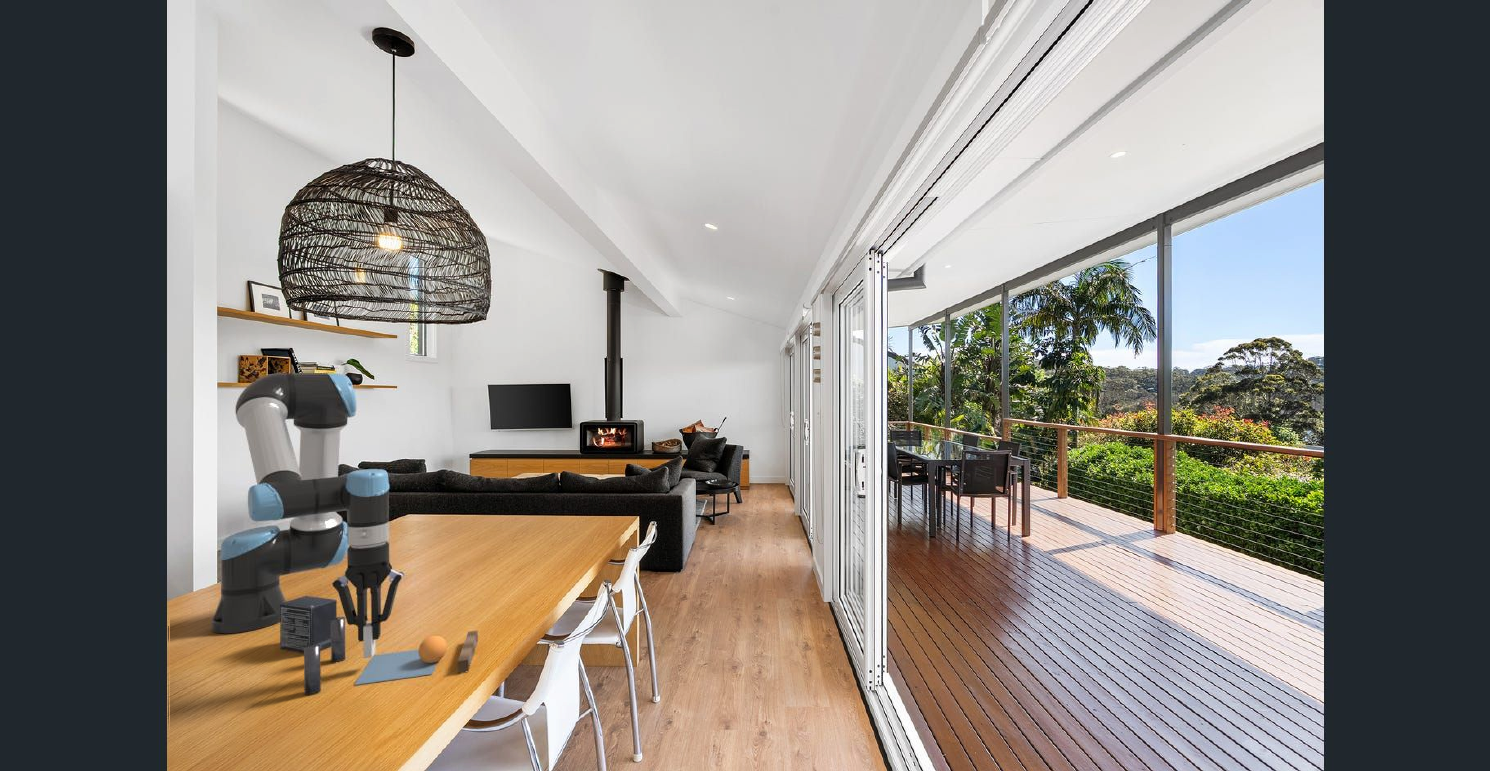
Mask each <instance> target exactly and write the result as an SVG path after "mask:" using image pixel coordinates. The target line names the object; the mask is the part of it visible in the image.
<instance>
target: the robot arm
mask: <svg viewBox="0 0 1490 771" xmlns="http://www.w3.org/2000/svg"><path fill="white" fill-rule="evenodd" d="M356 413H357V399H356V393H355V389H354V386H353V382H352V381H351V379H350V378H349V377H348V376H347V375H346V374H343V373H331V372H330V373H329V372H303V373H302V372H295V373H292V372H291V373H289V372H288V373H286V372H276V373H275V372H274V373H270V374H267V375H264V376H261V377H259V378H258V379H257V380H255V381H253V382H251V383H250V384H249V385H247V386H246V387H245V389H243V391H242V392H241V394H240V395H239V396H238V398H237V401H236V404H235V415H236V420H237V421H236V422H237V423H238V424H239V425H240V426H241V427H242V428H244V431H245V435H246V440H247V444H248V450H249V452H250V458H251V462H252V463H251V464H252V467H253V471H254V475H255V476H254V477H255V480H256V484H254V485H251V486H250V487H249V489H248V493H247V507H248V516H249V518H250V520H252V521H253V522H265V521H266V522H267V521H279V520H285V519H291V520H290V521H289V529H284V530H283V529H282V530H281V529H280V528H279V526H277V525H267V526H258V527H254V528H250V529H249V528H248V529H246V530H242V531H239V532H236V533H233V534H230V535H229V536H227V537H225V538H224V540H223V541H222V542H221V544H220V556H219V560H220V599H219V602H218V605H217V607H216V609H215V612H214V616H213V617H212V620H211V627H212V628H211V630H212V632H214V633H217V634H236V633H237V634H238V633H245V632H249V631H254V630H259V629H262V628H265V627H270V626H271V625H275V624H277V623H280V618H281V617H280V603H283V602H287V600H286V598H285V596H284V594H283V591H282V589H281V586H280V582H281V580H280V577H281V576H285V575H286V576H287V575H291V574H296V573H303V572H307V571H314V570H319V569H322V570H323V569H326V568H327V567H332V566H336V565H339V564H341V563H342V562H343V561H344V560H345V558H346V559H347V568H346V570H345V571H344V575H342V576H340V577H337V578H336V579H335V580H334V581H332V587H333V588H335V590H336V592H337V593H338V596H339V600H340V604H341V606H342V609H343V613H344V617H345V621H346V623H347V625H349V626H352V625H354V626H356V627H357V634H358V635H357V641H358V643H359V642H363V659H370V658H373V656H374V655H375V653H376V640H379V639H380V637H381V627H382V626H381V623H383V622H386V621H388V619H389V617H390V616H391V613H392V610H393V606H394V601H395V599H396V598H395V597H396V594H397V590H398V587H399V583H400V582H401V580H402V579H403V577H404V576H405V574H404V572H403V571H400V572H397V571H396V570H394V569H393V566H392V565H391V563H390V542H388V540H390V521H389V520H390V518H389V517H390V516H389V515H390V512H389V510H390V505H389V504H390V502H389V500H390V491H389V490H390V483H389V474H388V472H387V470H385V469H383V468H381V469H380V468H379V469H378V468H368V469H359V470H358V469H357V470H354V471H351V472H349V473H345V474H342V475H340V476H339V465H340V464H339V463H340V462H339V460H340V440H341V439H340V438H341V430H342V429H344V428H345V427H347V426H348V418H352V417H355V416H356ZM286 420H293V426H294V427H296V428H297V429H298V430H299V431H300V436H299V437H300V438H299V440H300V441H299V462H298V460H297V457H296V454H295V451H294V446H293V443H292V440H291V437H290V433H289V429H288V425H287V423H286ZM343 511H346V517H347V519H346V520H347V522H346V521H344V520H343V517H342V516H341V515H340V514H338V513H337V512H343ZM292 518H293V519H292ZM346 556H347V557H346ZM388 577H389V579H388V581H389V582H390V584H389V587H388V591H387V595H386V599H385V601H384V606H383V610H382V599H381V598H382V597H381V596H382V592H381V590H382V585H383V583H385V582H384V581H385V580H386V579H387V578H388ZM349 582H350V583H351V584H352V586H353V587H354V588H355V590H356V593H355V594H356V608H357V609H356V608H355V603H354V601H353V597H352V593H351V591H350V587H349ZM369 589H370V590H369ZM368 590H369V591H370V592H369V593H370V601H371V602H370V603H371V604H370V606H371V607H370V608H371V610H370V612H371V613H370V614H371V617H370V618H371V621H368V620H369V618H368ZM367 621H368V622H367Z"/></svg>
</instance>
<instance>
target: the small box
mask: <svg viewBox="0 0 1490 771" xmlns="http://www.w3.org/2000/svg"><path fill="white" fill-rule="evenodd" d="M280 617H281V618H280V622H279V623H280V628H279V629H280V631H279V632H280V633H279V634H280V635H279V637H280V639H279V649H280V650H284V651H291V652H296V653H302V654H304V647H305V646H307V645H310V644H314V643H319V644H320V651H323V650H325V649H328V648H331V619H333V618H336V617H338V616H337V599H332V598H325V597H319V596H318V597H316V596H312V595H311V596H310V595H305V596H302V597H298V598H295V599H291V600H290V599H289V600H288V601H287V600H286V602H283V603H280Z"/></svg>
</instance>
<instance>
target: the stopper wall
mask: <svg viewBox="0 0 1490 771" xmlns="http://www.w3.org/2000/svg"><path fill="white" fill-rule="evenodd" d="M478 633H479V632H478V630H472V631H471V630H470V631H467V634H466V637H465V640H464V642H463V646H462V648H461V651H460V654H459V657H458V659H457V674H462V673H461V672H463V673H467V672H466V671H468V672H469V671H470V667H471V665H472V662H471V661H473V658H474V655H475V651H476V649H477V645H478V642H479V641H478V640H479V639H478V638H479V637H478V636H479V634H478ZM475 648H476V649H475ZM470 664H471V665H470Z"/></svg>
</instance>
